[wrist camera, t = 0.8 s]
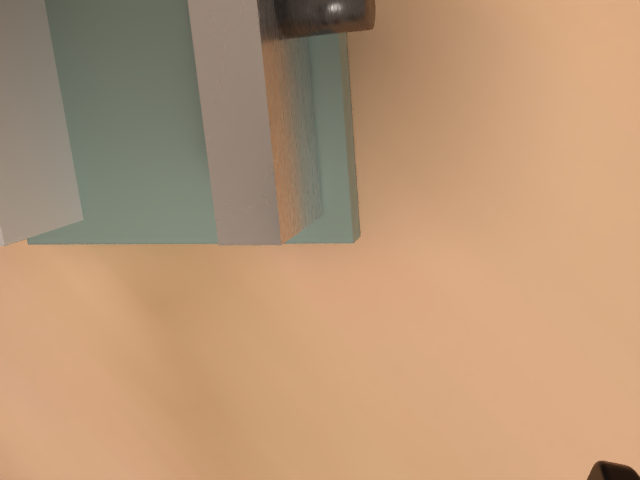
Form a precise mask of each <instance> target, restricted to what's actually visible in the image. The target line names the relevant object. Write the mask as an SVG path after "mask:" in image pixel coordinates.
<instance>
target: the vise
mask: <svg viewBox="0 0 640 480" xmlns="http://www.w3.org/2000/svg"><path fill="white" fill-rule="evenodd" d="M308 48H309V60H310V72H311V84H312V96H313V108H314V120H315V132H316V144H317V156H318V168H319V180H320V192H321V204H322V217H320V218H319V219H318V220H316V221H315V222H313V223H312V224H311V225H309V226H308V227H306V228H305V229H303V230H302V231H301V232H299V233H298V234H296V235H295V236H294V237H292V238H291V239H289V240H288V241H287V242H285V243H284V244H297V243H354V242H355V241H356V240H357V239H358V238H359V237H360V223H359V209H358V194H357V180H356V165H355V151H354V136H353V122H352V107H351V93H350V78H349V64H348V49H347V35H346V32H345V33H337V34H328V35H320V36H311V37H308ZM24 239H27V241H28V244H218V238H217V230H216V222H215V214H214V206H213V198H212V190H211V182H210V174H209V166H208V158H207V151H206V143H205V135H204V127H203V119H202V111H201V103H200V95H199V87H198V79H197V71H196V63H195V55H194V48H193V40H192V32H191V24H190V16H189V8H188V0H0V246H6V245H9V244H12V243H15V242H18V241H21V240H24Z"/></svg>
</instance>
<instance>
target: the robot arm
mask: <svg viewBox="0 0 640 480" xmlns="http://www.w3.org/2000/svg"><path fill="white" fill-rule="evenodd" d="M587 480H640V476H639V475H638V474H637V473H636V471H635V470H633V469H632V468H631V467H629V466H626V465H622V464H617V463H612V462H607V461H598V462H596V463H595V464H594V466H593V468H592V470H591V472H590V474H589V476H588V478H587Z"/></svg>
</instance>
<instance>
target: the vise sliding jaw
mask: <svg viewBox="0 0 640 480" xmlns="http://www.w3.org/2000/svg"><path fill="white" fill-rule="evenodd" d="M188 8H189V16H190V24H191V32H192V40H193V48H194V55H195V63H196V71H197V79H198V87H199V95H200V103H201V111H202V119H203V127H204V135H205V143H206V151H207V158H208V166H209V174H210V182H211V190H212V198H213V206H214V214H215V222H216V230H217V238H218V245H282V244H284V243H285V242H287V241H288V240H289V239H291V238H292V237H294V236H295V235H296V234H298V233H299V232H301V231H302V230H303V229H305V228H306V227H308V226H309V225H311V224H312V223H313V222H315V221H316V220H318V219H319V218H320V217H322V204H321V192H320V180H319V168H318V156H317V144H316V132H315V120H314V108H313V96H312V84H311V72H310V60H309V48H308V37H311V36H320V35H328V34H337V33H345V32H354V31H363V30H371V29H373V27H374V22H375V0H188Z"/></svg>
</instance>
